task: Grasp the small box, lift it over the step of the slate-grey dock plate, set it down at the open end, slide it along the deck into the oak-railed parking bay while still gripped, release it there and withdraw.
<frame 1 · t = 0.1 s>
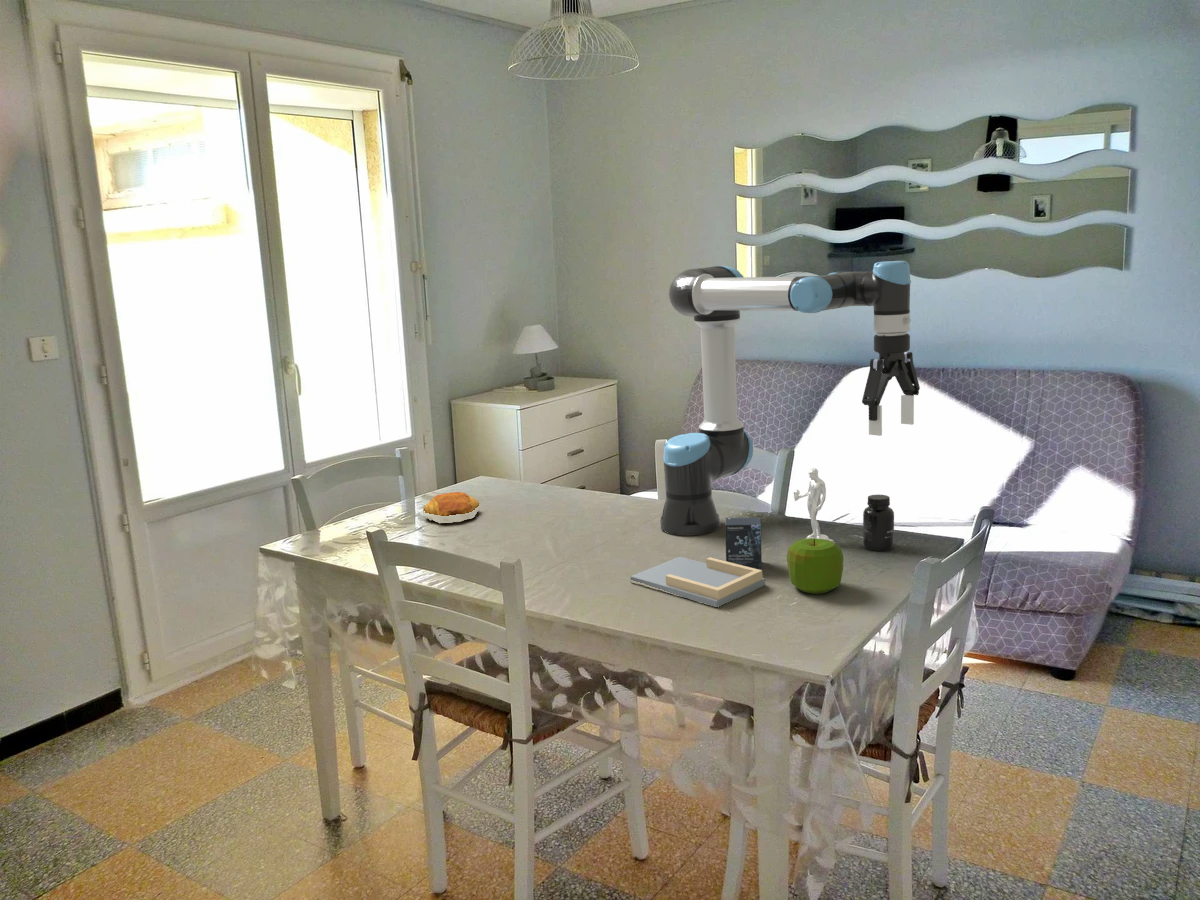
hand: (891, 429, 211), 28 cm above the table, fingers open, 13 cm apart
apple: (815, 588, 197), on the table
croissant: (452, 518, 267), on the table
box: (744, 566, 213), on the table
dock: (697, 583, 204), on the table
figurine: (814, 542, 226), on the table
supplement bottle: (878, 547, 220), on the table
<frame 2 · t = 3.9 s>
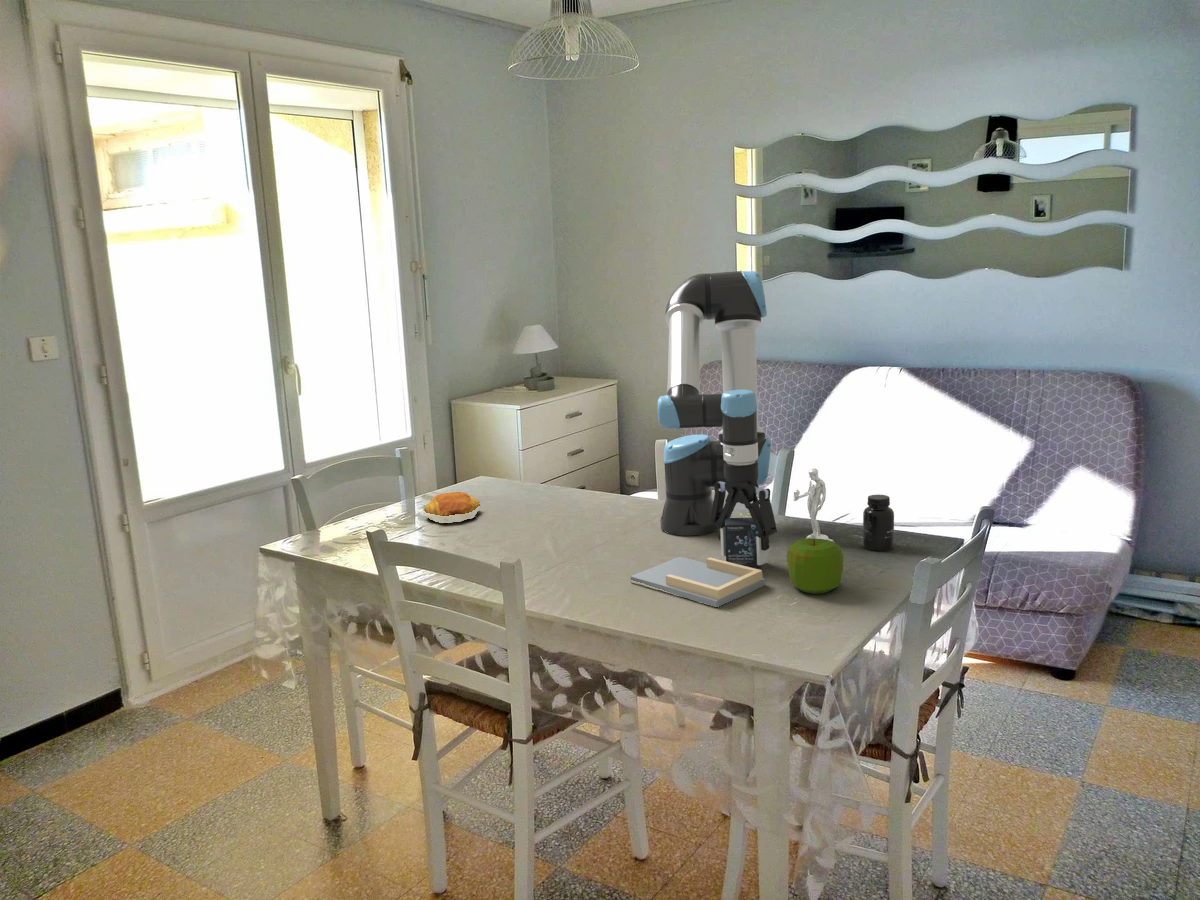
hand: (743, 558, 213), 2 cm above the table, fingers closed on box, 9 cm apart
box: (744, 566, 213), on the table, touching gripper
everything else where it was.
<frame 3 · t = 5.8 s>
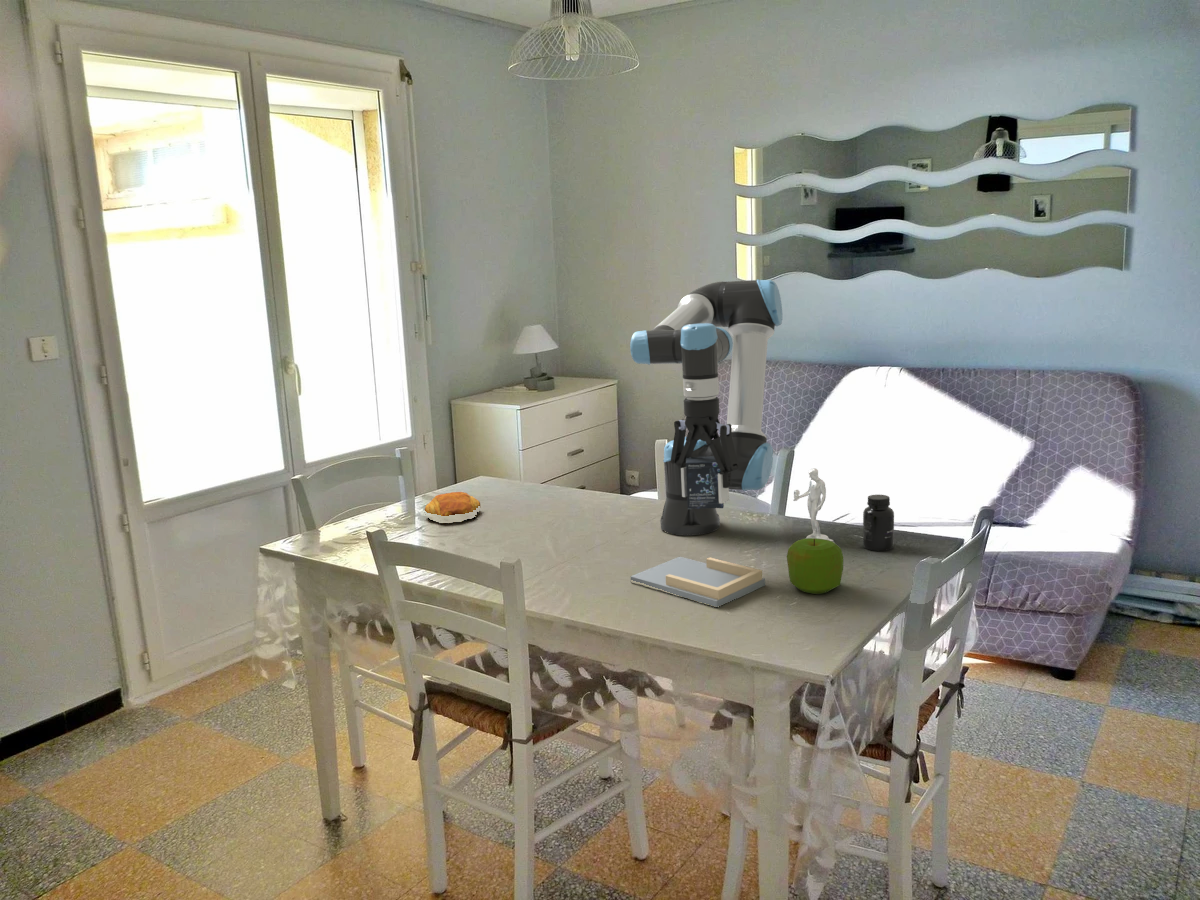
hand: (705, 498, 208), 17 cm above the table, fingers closed on box, 9 cm apart
box: (705, 506, 208), point 15 cm above the table, touching gripper
everything else where it was.
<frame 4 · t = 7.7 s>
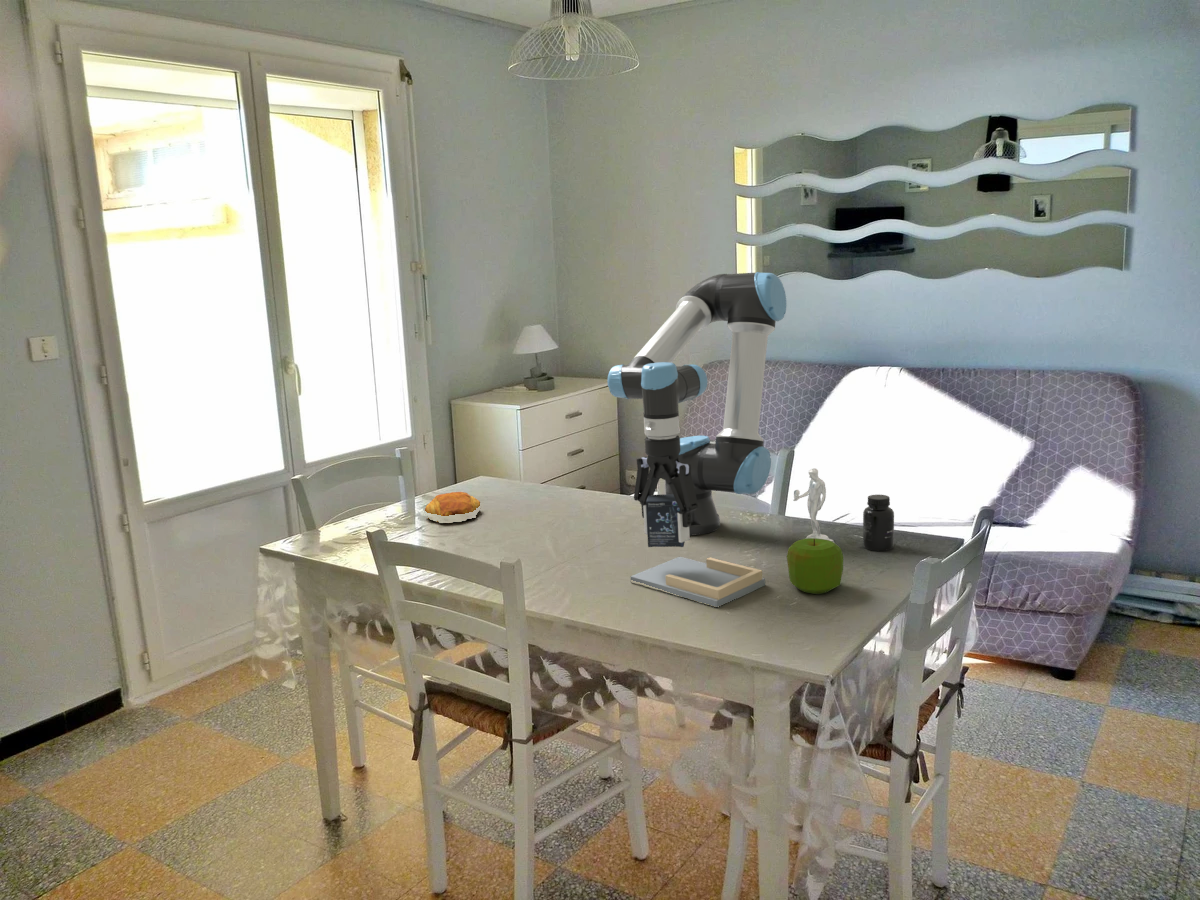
hand: (666, 536, 207), 9 cm above the table, fingers closed on box, 9 cm apart
box: (667, 544, 208), point 7 cm above the table, touching gripper
everything else where it was.
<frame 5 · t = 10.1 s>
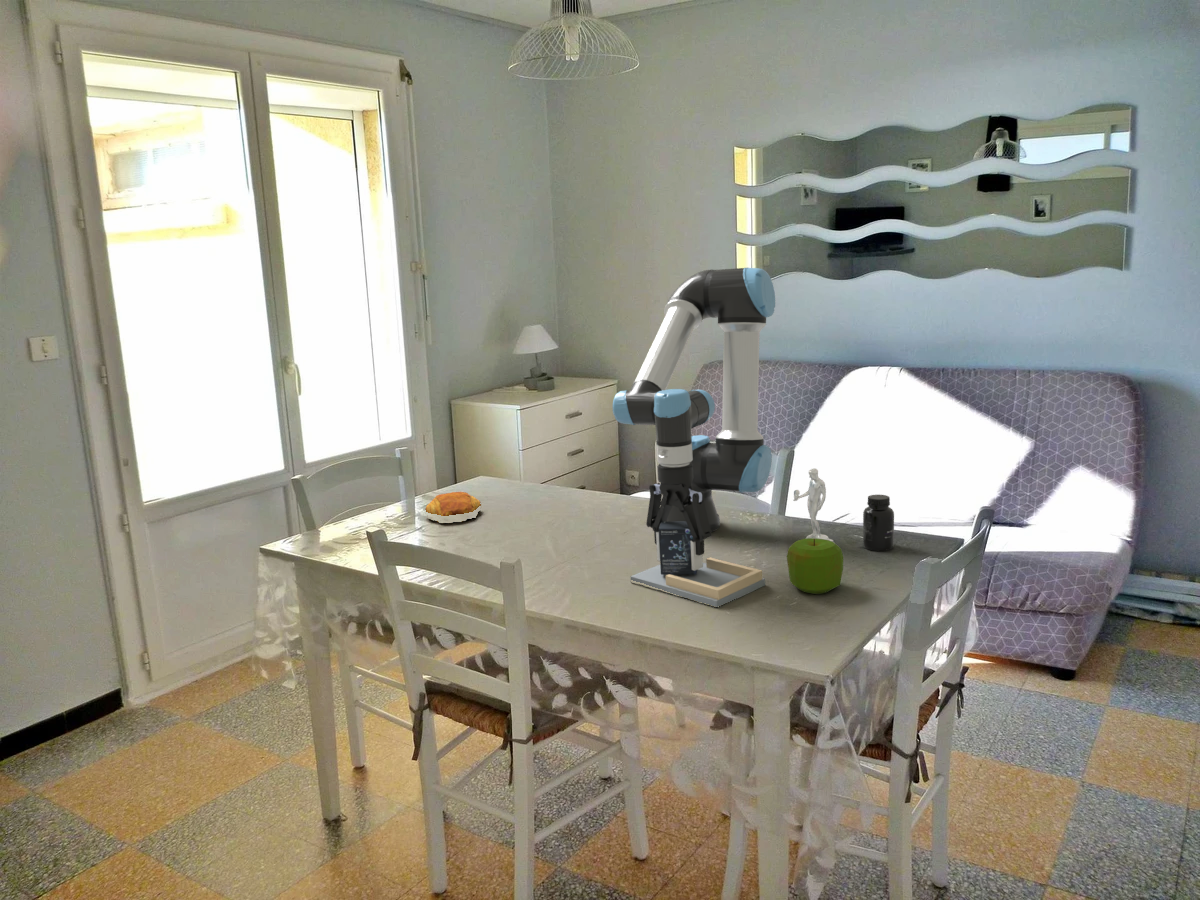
hand: (679, 563, 206), 4 cm above the table, fingers closed on box, 9 cm apart
box: (680, 571, 207), point 2 cm above the table, touching gripper
everything else where it was.
when the fingers open (3 cm above the table, at t = 12.1 s): box stays where it is, resting on dock.
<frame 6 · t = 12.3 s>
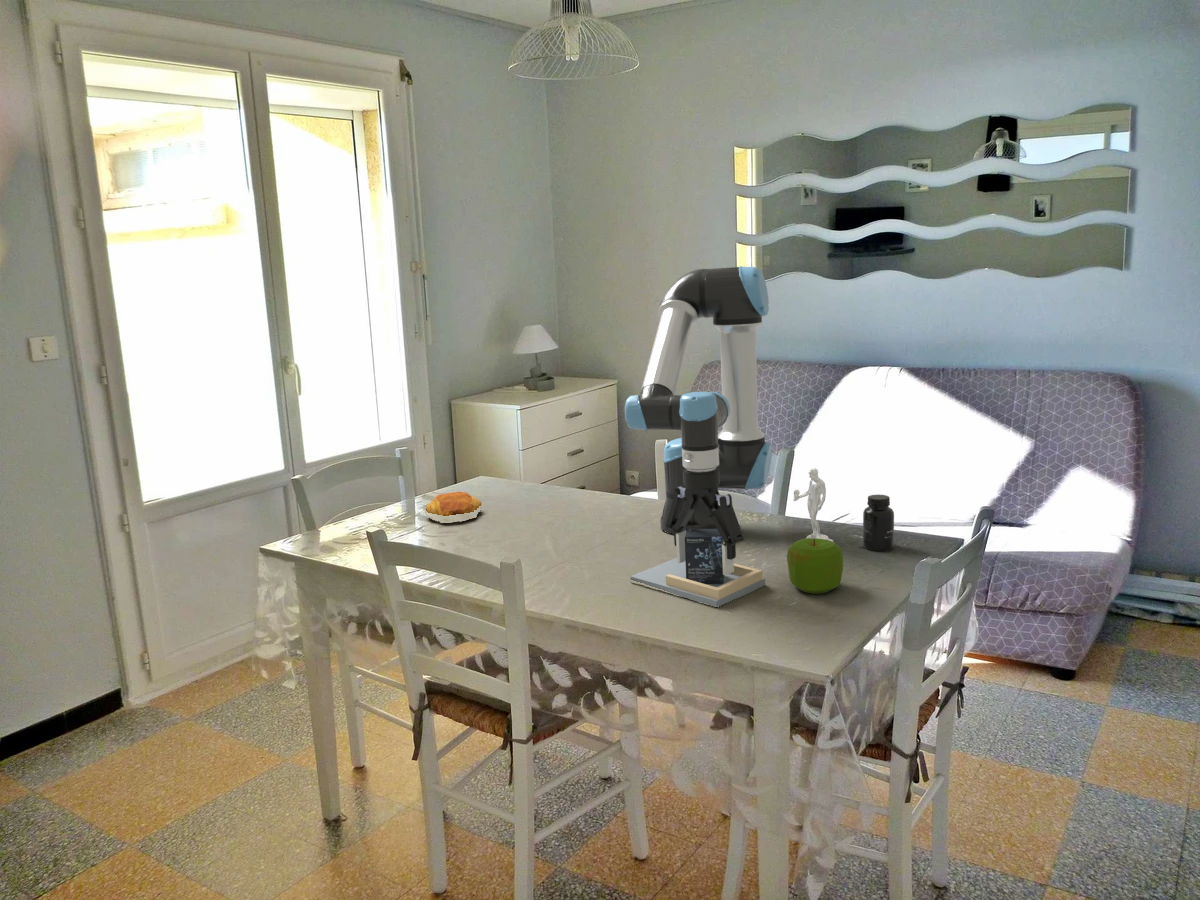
hand: (705, 567, 201), 4 cm above the table, fingers open, 12 cm apart
box: (705, 580, 202), point 1 cm above the table, touching dock
everything else where it was.
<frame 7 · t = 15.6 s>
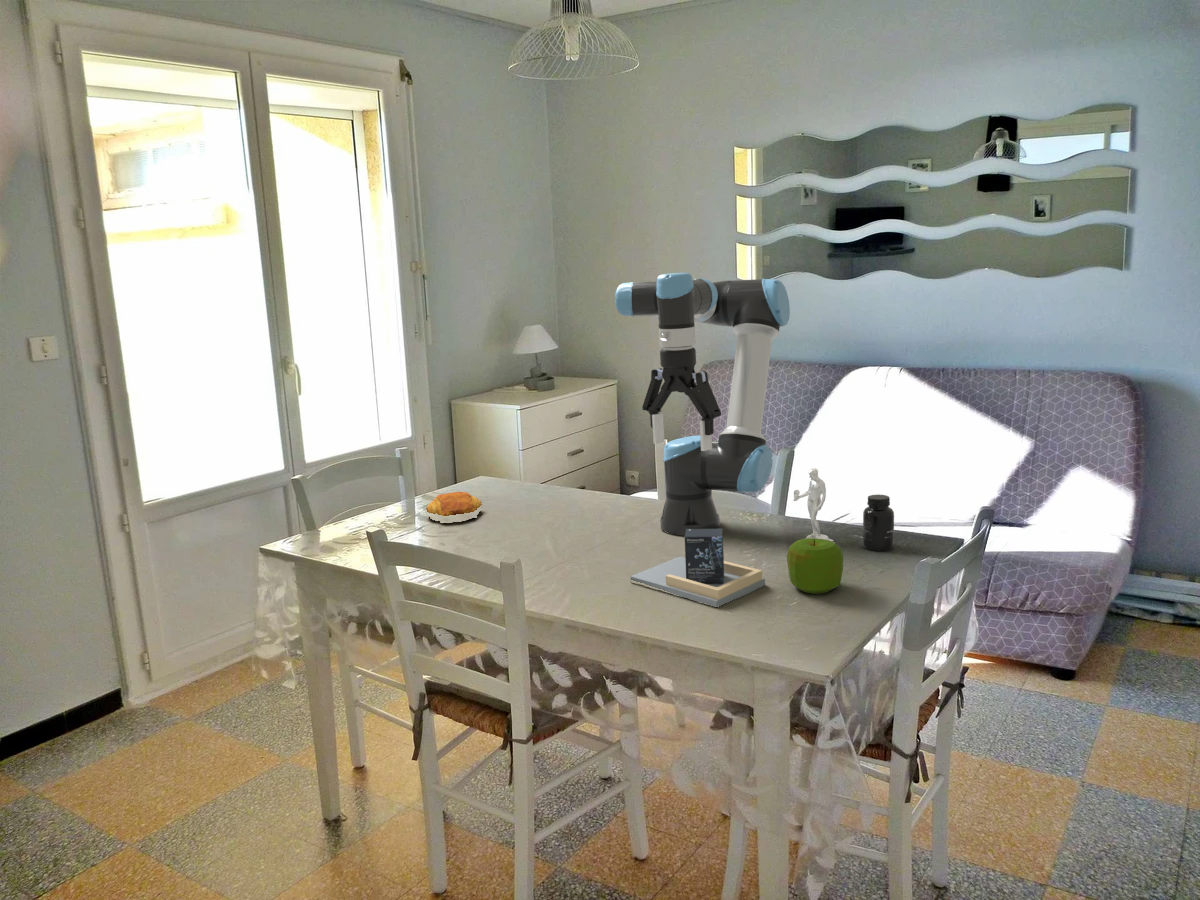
hand: (682, 446, 205), 29 cm above the table, fingers open, 13 cm apart
nothing on the table moved.
at the end: box inside the target area (1.5 cm from its centre), point 1.3 cm above the table; box tilted 0°; the gripper is holding nothing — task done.
